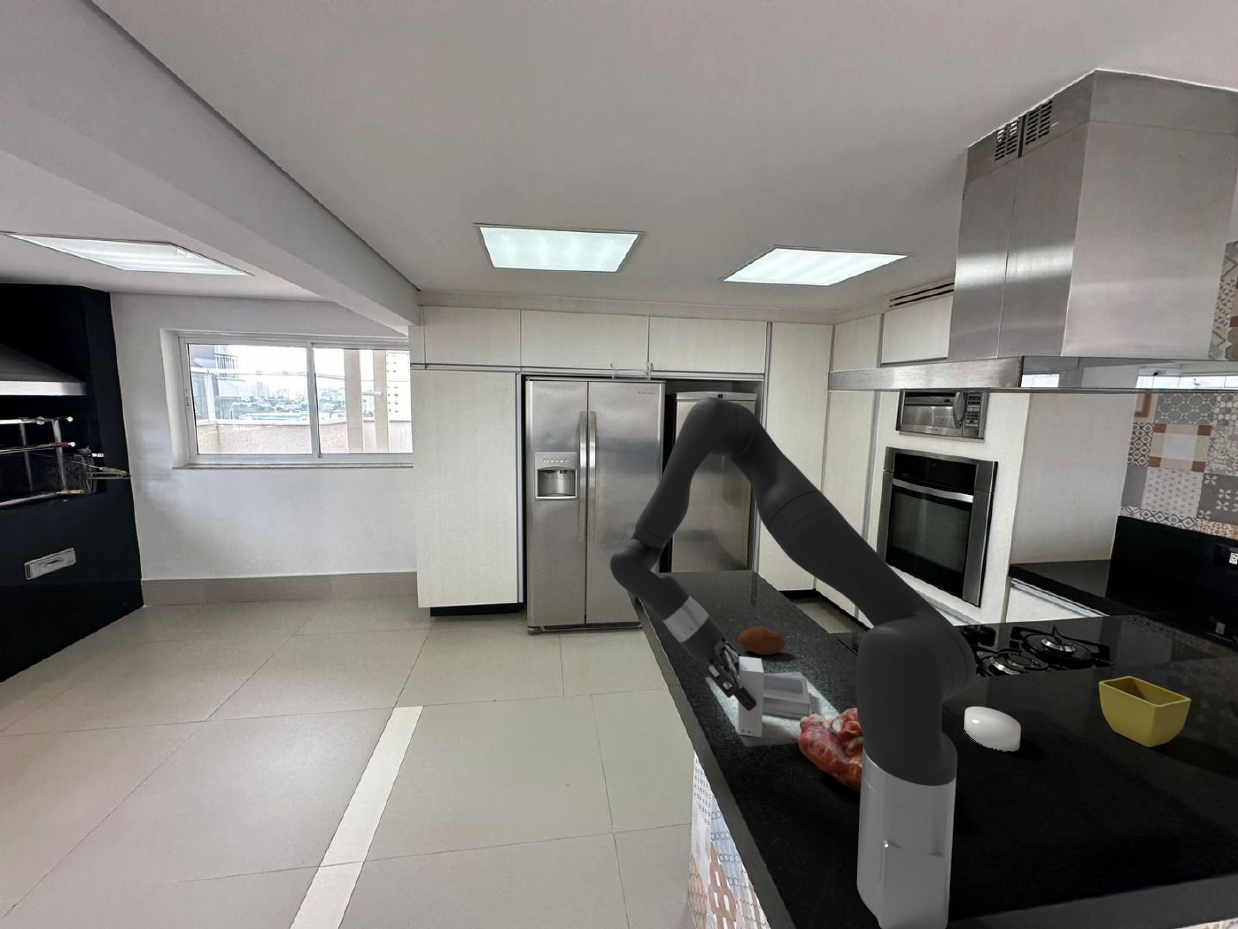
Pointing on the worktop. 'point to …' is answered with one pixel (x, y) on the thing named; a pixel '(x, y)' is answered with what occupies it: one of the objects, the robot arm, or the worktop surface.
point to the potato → (761, 641)
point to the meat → (834, 746)
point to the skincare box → (754, 684)
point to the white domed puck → (992, 728)
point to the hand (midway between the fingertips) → (753, 695)
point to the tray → (786, 696)
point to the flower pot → (1143, 710)
